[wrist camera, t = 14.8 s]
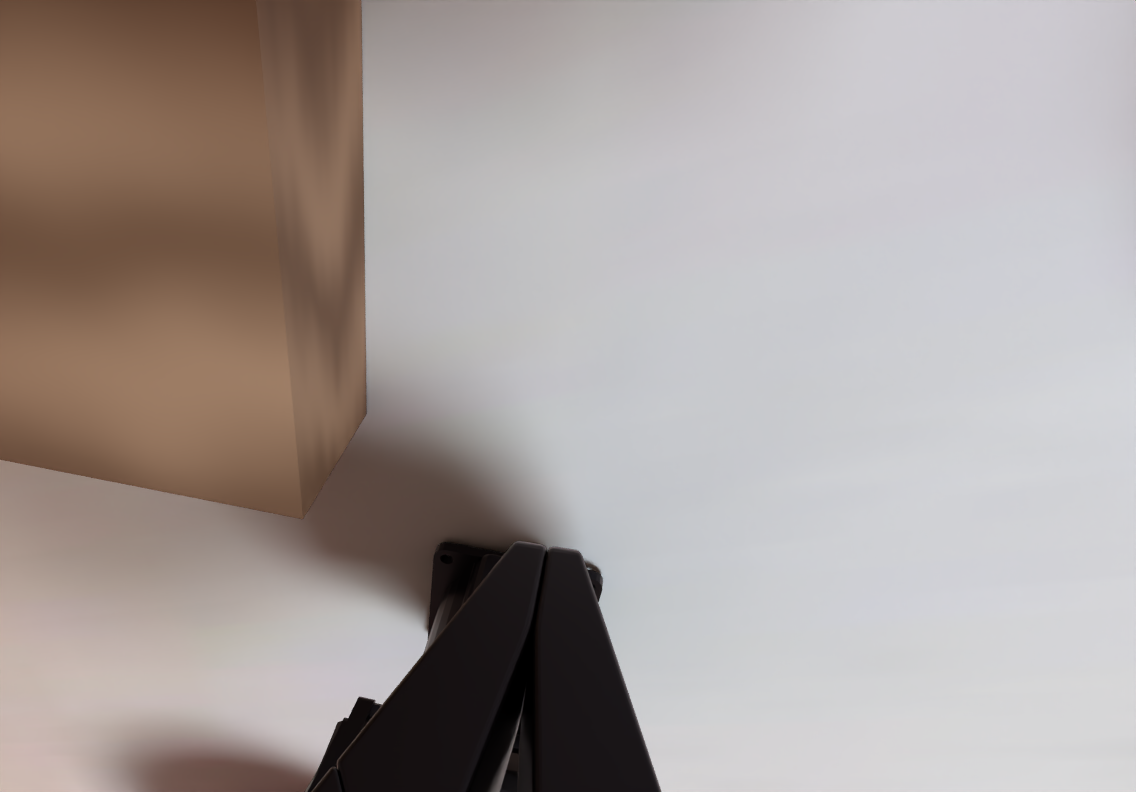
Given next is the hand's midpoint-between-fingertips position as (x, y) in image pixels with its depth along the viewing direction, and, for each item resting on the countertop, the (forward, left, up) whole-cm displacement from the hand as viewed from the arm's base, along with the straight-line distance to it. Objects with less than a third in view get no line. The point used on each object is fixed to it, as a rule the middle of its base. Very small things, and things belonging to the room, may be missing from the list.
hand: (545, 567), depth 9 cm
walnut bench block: (-1, +13, -12) cm, 17 cm away
